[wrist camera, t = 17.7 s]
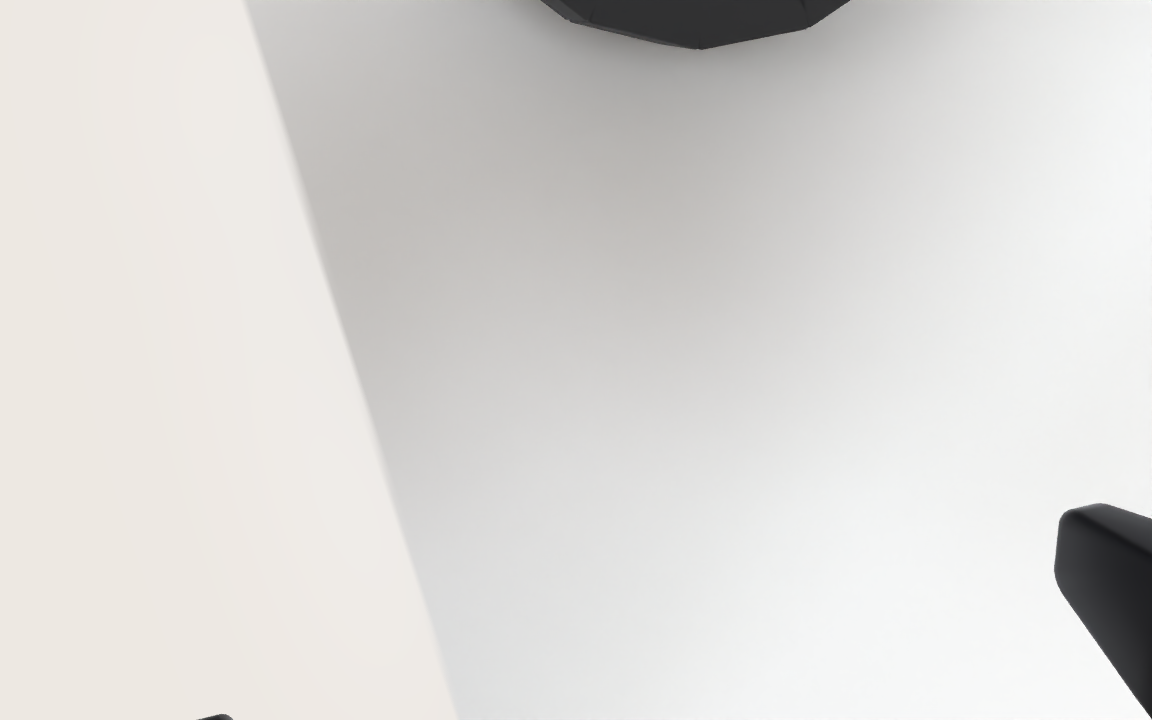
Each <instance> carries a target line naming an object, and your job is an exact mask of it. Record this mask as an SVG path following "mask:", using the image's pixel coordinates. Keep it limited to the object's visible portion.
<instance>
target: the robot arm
mask: <svg viewBox="0 0 1152 720" xmlns="http://www.w3.org/2000/svg"><path fill="white" fill-rule="evenodd" d="M1054 572H1055V578H1056V581H1057V584H1058V586H1059V589H1060V591H1061V592H1062V594H1063V595H1064V597H1065V598H1066V600H1067V601H1068V603H1069V604H1070V605H1071V607H1072V608H1073V610H1074V611H1075V612H1076V614H1077V615H1078V617H1079V618H1080V619H1081V621H1082V622H1083V624H1084V625H1085V627H1086V628H1087V629H1088V631H1089V632H1090V634H1091V635H1092V636H1093V638H1094V639H1095V641H1096V642H1097V644H1098V645H1099V646H1100V648H1101V649H1102V651H1103V652H1104V653H1105V655H1106V656H1107V658H1108V659H1109V661H1110V662H1111V663H1112V665H1113V666H1114V668H1115V669H1116V670H1117V672H1118V673H1119V675H1120V676H1121V677H1122V679H1123V680H1124V682H1125V683H1126V685H1127V686H1128V687H1129V689H1130V690H1131V692H1132V693H1133V694H1134V696H1135V697H1136V699H1137V700H1138V701H1139V703H1140V704H1141V705H1142V707H1143V708H1144V709H1145V711H1146V712H1147V713H1148V715H1149V716H1150V717H1151V718H1152V519H1151V518H1148V517H1145V516H1142V515H1139V514H1136V513H1133V512H1129V511H1126V510H1123V509H1120V508H1117V507H1114V506H1111V505H1108V504H1102V503H1098V504H1092V505H1088V506H1083V507H1079V508H1075V509H1071V510H1068V511H1066V512H1065V513H1064V514H1063V515H1062V517H1061V518H1060V521H1059V528H1058V537H1057V546H1056V555H1055V565H1054ZM199 720H233V719H232V718H231V717H230V716H228V715H226V714H219V715H215V716H211V717H207V718H203V719H199Z"/></svg>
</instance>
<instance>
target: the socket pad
mask: <svg viewBox="0 0 1152 720" xmlns="http://www.w3.org/2000/svg"><path fill="white" fill-rule="evenodd" d="M541 1H543V2H544V3H545V4H546V5H548V6H549V7H550V8H552V9H553V10H554V11H556V12H557V13H558V14H559V15H561V16H562V17H563V18H565V19H567V20H569V21H570V22H573V23H577V24H581V25H585V26H589V27H593V28H597V29H601V30H605V31H609V32H613V33H618V34H622V35H626V36H630V37H634V38H638V39H642V40H646V41H650V42H654V43H658V44H664V45H670V46H677V47H683V48H689V49H700V50H703V49H708V48H713V47H718V46H723V45H728V44H733V43H738V42H743V41H748V40H753V39H759V38H764V37H769V36H774V35H779V34H784V33H789V32H794V31H799V30H804V29H807V28H808V27H811V26H813V25H814V24H816V23H817V22H819V21H820V20H822V19H823V18H825V17H826V16H828V15H829V14H831V13H832V12H834V11H835V10H837V9H838V8H840V7H841V6H843V5H844V4H846V3H847V2H849V1H850V0H541Z"/></svg>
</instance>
